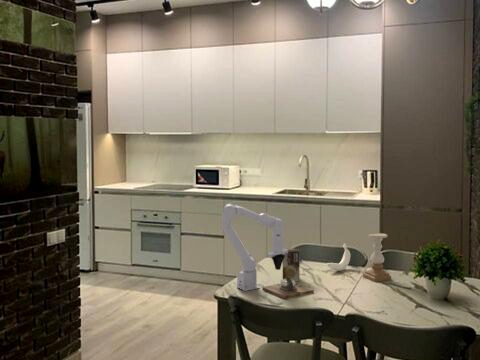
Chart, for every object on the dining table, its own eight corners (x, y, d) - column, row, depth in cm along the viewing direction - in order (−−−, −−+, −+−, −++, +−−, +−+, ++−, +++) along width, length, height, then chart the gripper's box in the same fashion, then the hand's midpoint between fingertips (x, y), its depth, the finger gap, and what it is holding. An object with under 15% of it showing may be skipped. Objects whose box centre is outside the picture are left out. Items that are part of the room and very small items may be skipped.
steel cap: (279, 284, 261) (279, 276, 260) (293, 284, 261) (293, 276, 261) (283, 291, 248) (283, 283, 248) (298, 291, 249) (298, 283, 248)
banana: (326, 272, 292) (326, 247, 291) (345, 266, 306) (345, 242, 304) (333, 274, 289) (333, 248, 287) (352, 268, 302) (352, 243, 301)
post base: (285, 299, 245) (285, 294, 245) (262, 290, 260) (262, 285, 260) (313, 292, 255) (313, 288, 255) (290, 284, 270) (290, 279, 270)
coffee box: (299, 277, 282) (299, 248, 281) (299, 281, 276) (299, 251, 274) (282, 277, 283) (282, 248, 282) (282, 280, 276) (282, 250, 275)
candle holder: (391, 279, 277) (392, 235, 275) (374, 282, 273) (375, 237, 271) (379, 274, 287) (379, 232, 285) (362, 276, 283) (362, 233, 281)
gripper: (275, 246, 254) (275, 273, 255) (292, 241, 265) (292, 267, 266) (264, 244, 259) (264, 271, 260) (281, 239, 270) (281, 265, 271)
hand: (277, 269), depth 264 cm, fingers closed
